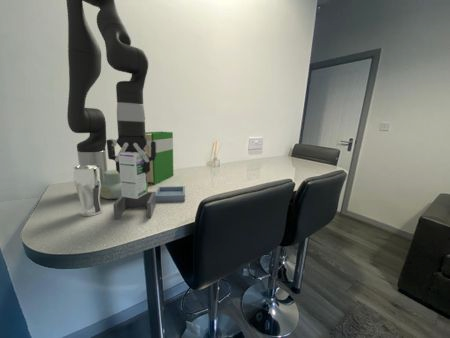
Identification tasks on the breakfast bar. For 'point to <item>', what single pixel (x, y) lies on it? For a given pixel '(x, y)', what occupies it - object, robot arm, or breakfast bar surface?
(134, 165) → the syrup box
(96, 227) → the breakfast bar surface
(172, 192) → the tray
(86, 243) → the breakfast bar surface
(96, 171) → the beer glass
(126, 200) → the dock
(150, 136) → the hardback book
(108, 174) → the air freshener
